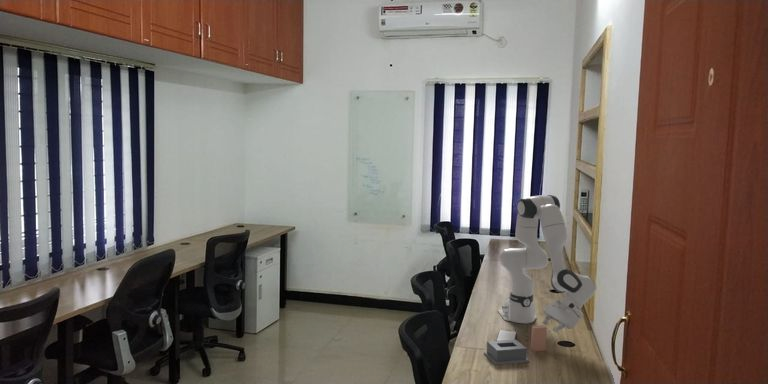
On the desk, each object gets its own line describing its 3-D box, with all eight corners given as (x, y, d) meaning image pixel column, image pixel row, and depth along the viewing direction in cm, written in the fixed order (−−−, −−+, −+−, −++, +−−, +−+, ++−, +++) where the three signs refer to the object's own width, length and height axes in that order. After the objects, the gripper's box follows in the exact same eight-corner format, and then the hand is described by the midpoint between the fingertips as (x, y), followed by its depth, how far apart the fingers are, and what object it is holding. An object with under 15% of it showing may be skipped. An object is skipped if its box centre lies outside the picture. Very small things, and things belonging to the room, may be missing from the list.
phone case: (514, 346, 252) (517, 334, 267) (514, 343, 251) (517, 331, 266) (495, 344, 254) (499, 332, 269) (495, 340, 254) (499, 329, 269)
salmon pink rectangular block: (530, 348, 248) (531, 325, 247) (542, 348, 249) (543, 325, 248) (533, 351, 245) (534, 328, 244) (545, 350, 246) (546, 327, 245)
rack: (483, 353, 241) (484, 340, 240) (516, 351, 244) (516, 338, 244) (495, 364, 229) (495, 351, 229) (529, 362, 233) (529, 348, 232)
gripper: (553, 295, 258) (533, 315, 256) (577, 308, 238) (556, 330, 236) (560, 303, 259) (541, 324, 258) (586, 317, 239) (565, 339, 238)
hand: (549, 327), depth 247 cm, fingers open, 8 cm apart
